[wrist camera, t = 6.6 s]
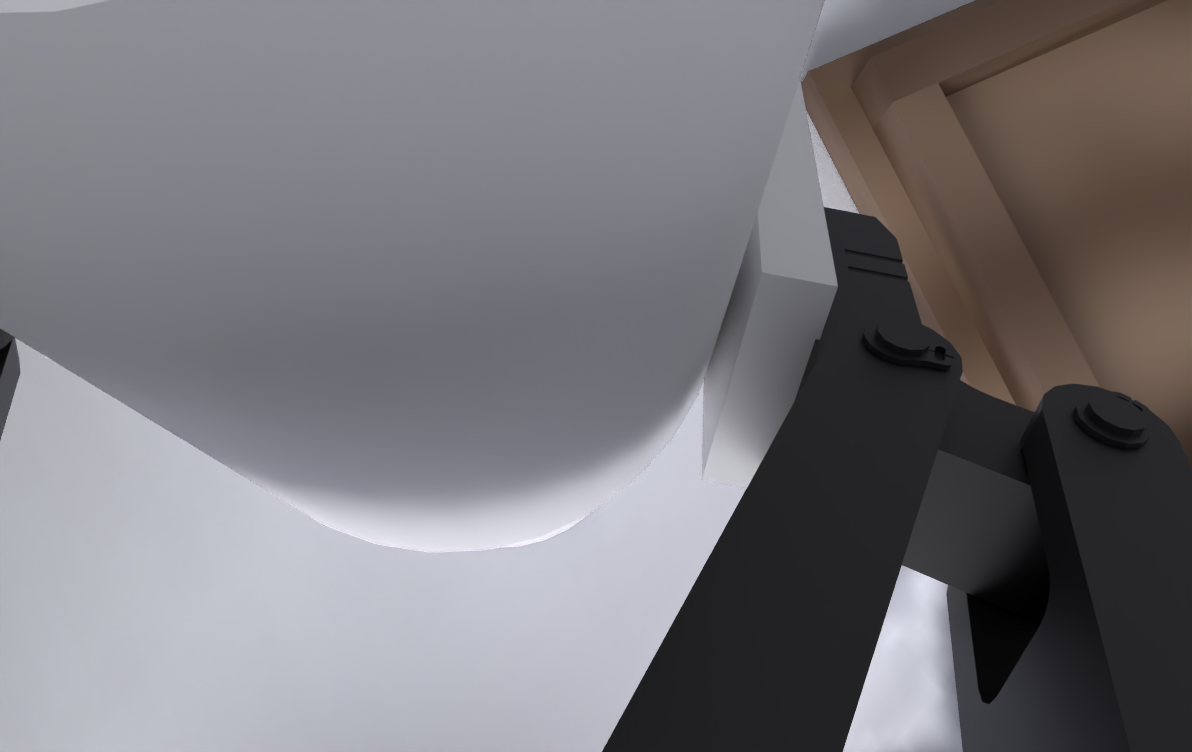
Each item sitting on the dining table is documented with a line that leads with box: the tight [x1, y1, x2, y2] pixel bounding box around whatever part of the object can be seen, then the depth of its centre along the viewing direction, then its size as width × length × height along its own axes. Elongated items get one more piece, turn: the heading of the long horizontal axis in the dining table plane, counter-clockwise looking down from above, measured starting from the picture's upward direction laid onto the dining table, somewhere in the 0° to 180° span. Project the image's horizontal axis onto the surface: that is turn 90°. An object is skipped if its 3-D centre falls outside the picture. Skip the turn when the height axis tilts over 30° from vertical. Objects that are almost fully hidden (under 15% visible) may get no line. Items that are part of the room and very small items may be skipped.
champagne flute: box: [0, 0, 824, 553], centre depth 14 cm, size 7×7×24 cm
